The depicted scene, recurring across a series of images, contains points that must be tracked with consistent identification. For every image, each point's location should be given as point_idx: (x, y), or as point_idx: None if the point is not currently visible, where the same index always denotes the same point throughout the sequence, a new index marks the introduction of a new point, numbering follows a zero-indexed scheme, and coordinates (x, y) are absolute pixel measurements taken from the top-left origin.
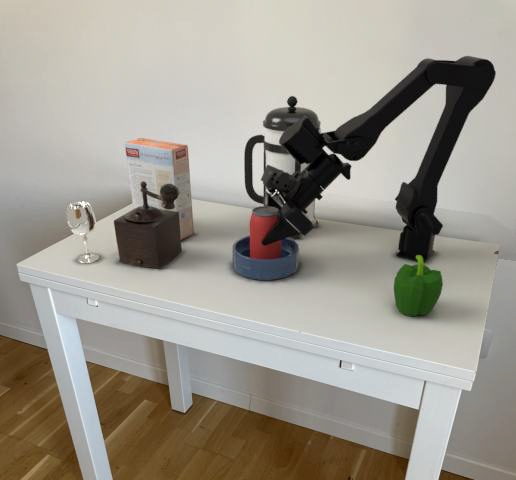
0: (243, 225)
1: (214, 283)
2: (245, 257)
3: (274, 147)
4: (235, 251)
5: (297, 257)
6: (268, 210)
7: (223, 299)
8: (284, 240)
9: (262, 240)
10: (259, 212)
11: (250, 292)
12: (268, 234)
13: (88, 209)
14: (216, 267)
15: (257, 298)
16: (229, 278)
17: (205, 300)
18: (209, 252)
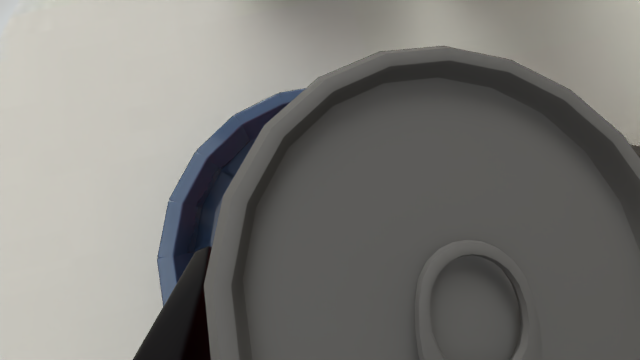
0: (616, 94)
1: (161, 96)
2: (185, 170)
3: None
4: (252, 110)
5: None
6: (521, 315)
7: (37, 150)
8: None
9: (193, 260)
10: (413, 169)
11: (100, 231)
12: (147, 336)
13: None
14: (283, 78)
15: (50, 269)
16: (207, 135)
17: (27, 96)
18: (387, 36)
